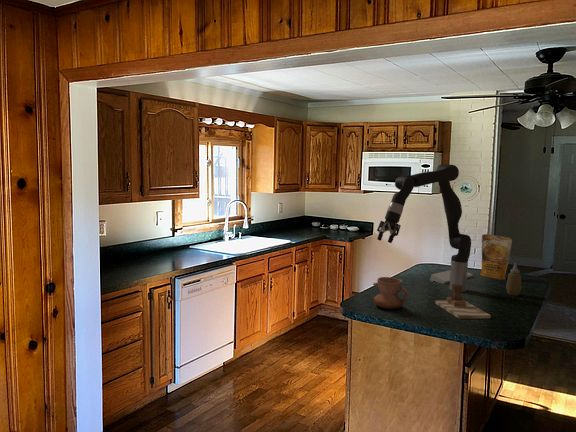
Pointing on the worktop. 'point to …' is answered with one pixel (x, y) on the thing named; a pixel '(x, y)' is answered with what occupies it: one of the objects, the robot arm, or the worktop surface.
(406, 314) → the worktop surface
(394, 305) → the ceramic jug
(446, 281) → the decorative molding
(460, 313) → the birch board
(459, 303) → the block
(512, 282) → the squeeze bottle
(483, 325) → the worktop surface
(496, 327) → the worktop surface
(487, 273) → the pancake mix bag
